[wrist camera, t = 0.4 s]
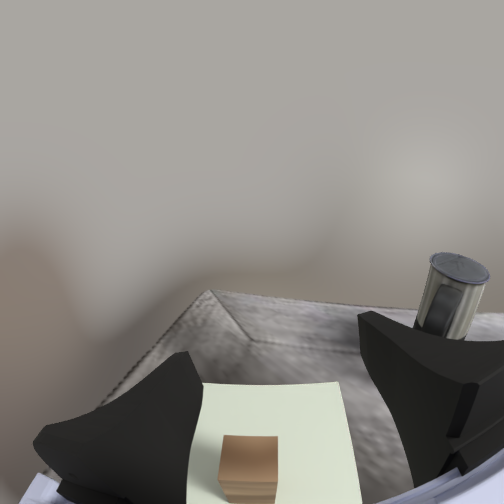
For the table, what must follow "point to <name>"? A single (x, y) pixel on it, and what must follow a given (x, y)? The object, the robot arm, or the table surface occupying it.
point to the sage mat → (289, 441)
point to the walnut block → (249, 469)
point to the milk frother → (451, 295)
